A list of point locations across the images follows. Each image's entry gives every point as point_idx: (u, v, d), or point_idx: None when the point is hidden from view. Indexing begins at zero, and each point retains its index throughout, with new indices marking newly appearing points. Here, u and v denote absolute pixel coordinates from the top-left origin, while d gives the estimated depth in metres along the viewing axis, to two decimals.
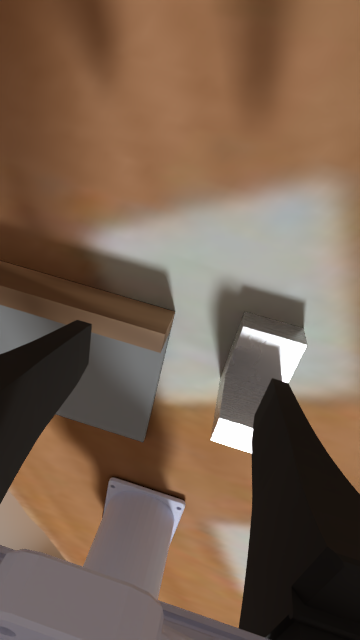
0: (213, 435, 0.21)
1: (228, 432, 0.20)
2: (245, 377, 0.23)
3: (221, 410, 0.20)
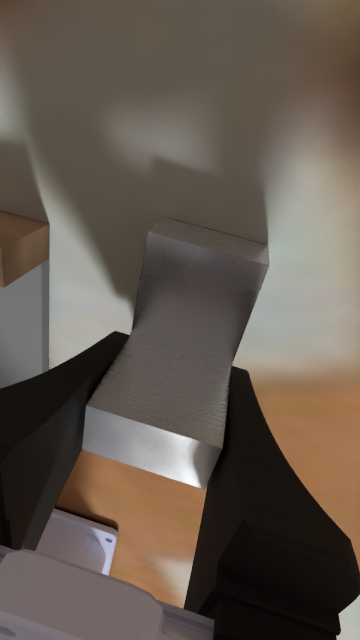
0: (84, 440, 0.11)
1: (110, 435, 0.10)
2: (165, 336, 0.13)
3: (97, 390, 0.10)
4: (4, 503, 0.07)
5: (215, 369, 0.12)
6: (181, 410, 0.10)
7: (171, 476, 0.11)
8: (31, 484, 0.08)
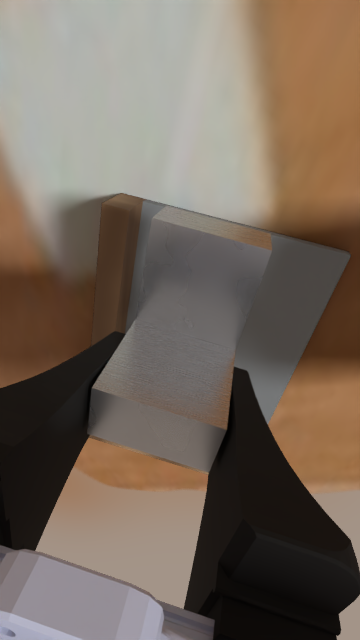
0: (90, 424, 0.11)
1: (115, 417, 0.10)
2: (169, 323, 0.13)
3: (102, 374, 0.10)
4: (4, 503, 0.07)
5: (218, 356, 0.12)
6: (186, 393, 0.10)
7: (175, 459, 0.11)
8: (31, 484, 0.08)
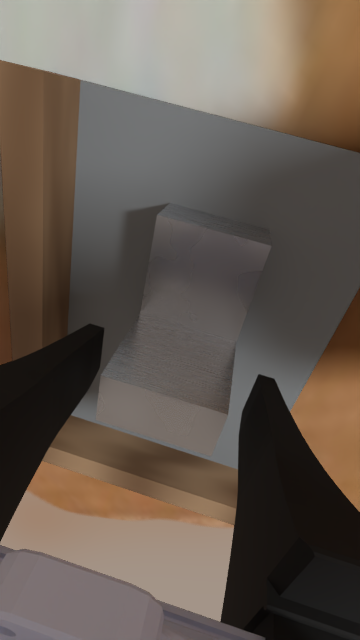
0: (98, 410, 0.11)
1: (123, 404, 0.11)
2: (172, 316, 0.14)
3: (110, 363, 0.11)
4: None
5: (220, 347, 0.13)
6: (189, 381, 0.11)
7: (179, 444, 0.11)
8: None
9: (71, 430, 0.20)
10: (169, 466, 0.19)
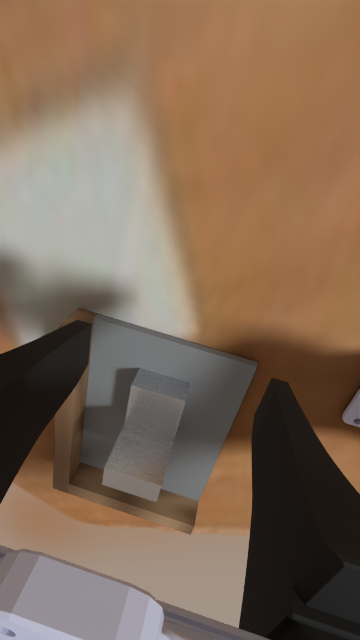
0: (103, 480, 0.24)
1: (114, 478, 0.23)
2: (141, 425, 0.26)
3: (109, 459, 0.23)
4: None
5: (164, 443, 0.26)
6: (145, 467, 0.24)
7: (141, 496, 0.24)
8: None
9: (85, 474, 0.33)
10: None
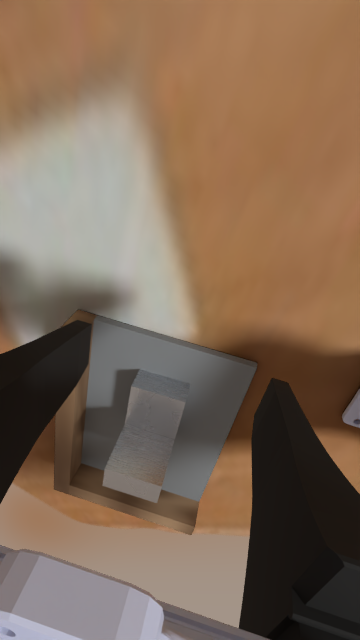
0: (103, 481, 0.24)
1: (115, 480, 0.23)
2: (141, 426, 0.26)
3: (109, 460, 0.24)
4: None
5: (165, 444, 0.26)
6: (146, 468, 0.24)
7: (142, 497, 0.24)
8: None
9: (86, 475, 0.33)
10: None
